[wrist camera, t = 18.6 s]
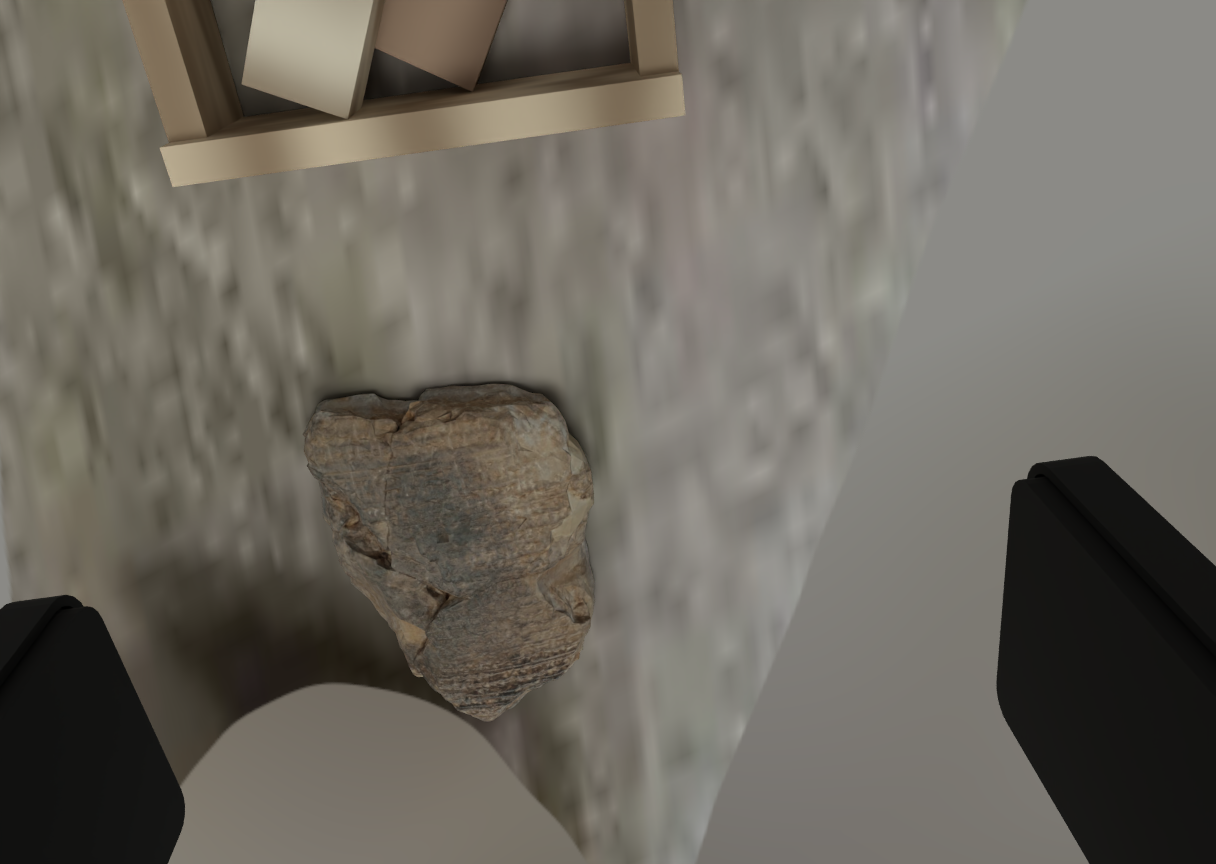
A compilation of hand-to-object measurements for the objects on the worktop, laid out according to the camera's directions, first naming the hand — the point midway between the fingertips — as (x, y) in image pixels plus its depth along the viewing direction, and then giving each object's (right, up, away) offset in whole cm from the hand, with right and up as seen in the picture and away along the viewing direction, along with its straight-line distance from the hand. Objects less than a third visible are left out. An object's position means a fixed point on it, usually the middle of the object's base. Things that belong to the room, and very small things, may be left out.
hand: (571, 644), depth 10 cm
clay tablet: (-7, -4, +43) cm, 44 cm away
